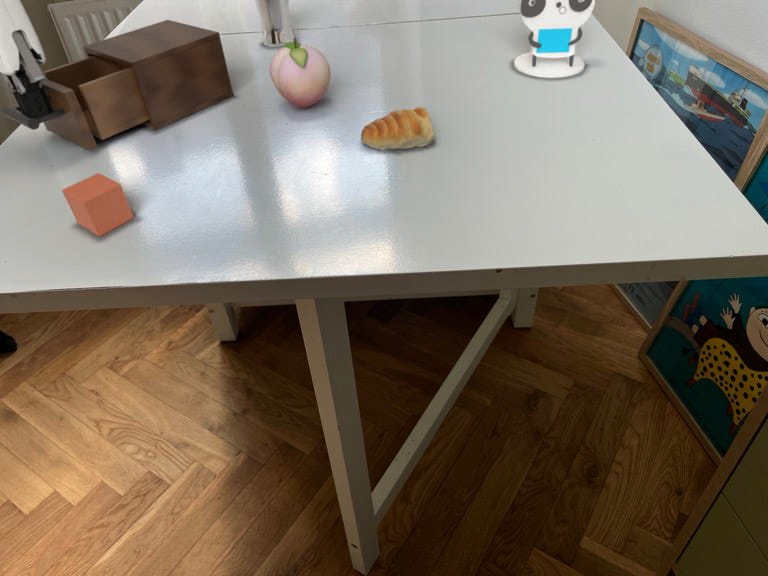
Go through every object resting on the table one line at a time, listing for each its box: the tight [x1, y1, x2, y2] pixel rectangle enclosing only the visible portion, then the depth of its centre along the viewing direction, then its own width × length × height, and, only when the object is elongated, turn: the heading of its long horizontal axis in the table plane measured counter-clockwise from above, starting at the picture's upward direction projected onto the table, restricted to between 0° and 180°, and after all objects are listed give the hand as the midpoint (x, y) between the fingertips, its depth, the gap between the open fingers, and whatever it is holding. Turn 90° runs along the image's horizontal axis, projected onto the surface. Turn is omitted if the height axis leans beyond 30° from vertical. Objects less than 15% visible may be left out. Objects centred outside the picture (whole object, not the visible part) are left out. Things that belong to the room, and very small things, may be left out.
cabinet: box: [82, 19, 234, 131], centre depth 83 cm, size 15×13×10 cm
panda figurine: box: [513, 0, 596, 79], centre depth 87 cm, size 12×11×15 cm
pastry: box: [360, 106, 435, 151], centre depth 73 cm, size 9×7×4 cm
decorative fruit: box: [269, 37, 331, 109], centre depth 80 cm, size 9×8×10 cm
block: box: [61, 172, 135, 237], centre depth 61 cm, size 4×4×4 cm
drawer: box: [1, 55, 149, 151], centre depth 76 cm, size 18×11×8 cm, turn 142°
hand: (41, 118), depth 73 cm, fingers closed
